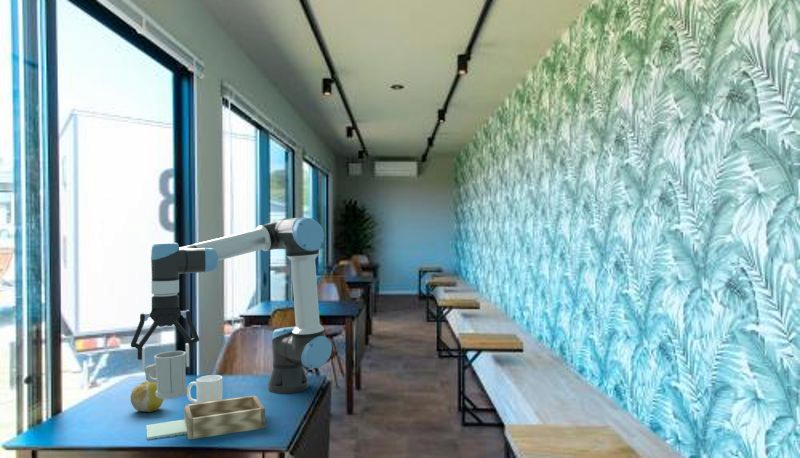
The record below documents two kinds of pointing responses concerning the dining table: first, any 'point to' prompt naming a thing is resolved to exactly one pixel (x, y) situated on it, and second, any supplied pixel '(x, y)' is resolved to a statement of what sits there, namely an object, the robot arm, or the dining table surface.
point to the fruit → (146, 397)
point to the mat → (166, 429)
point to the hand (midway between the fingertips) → (165, 368)
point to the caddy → (224, 417)
